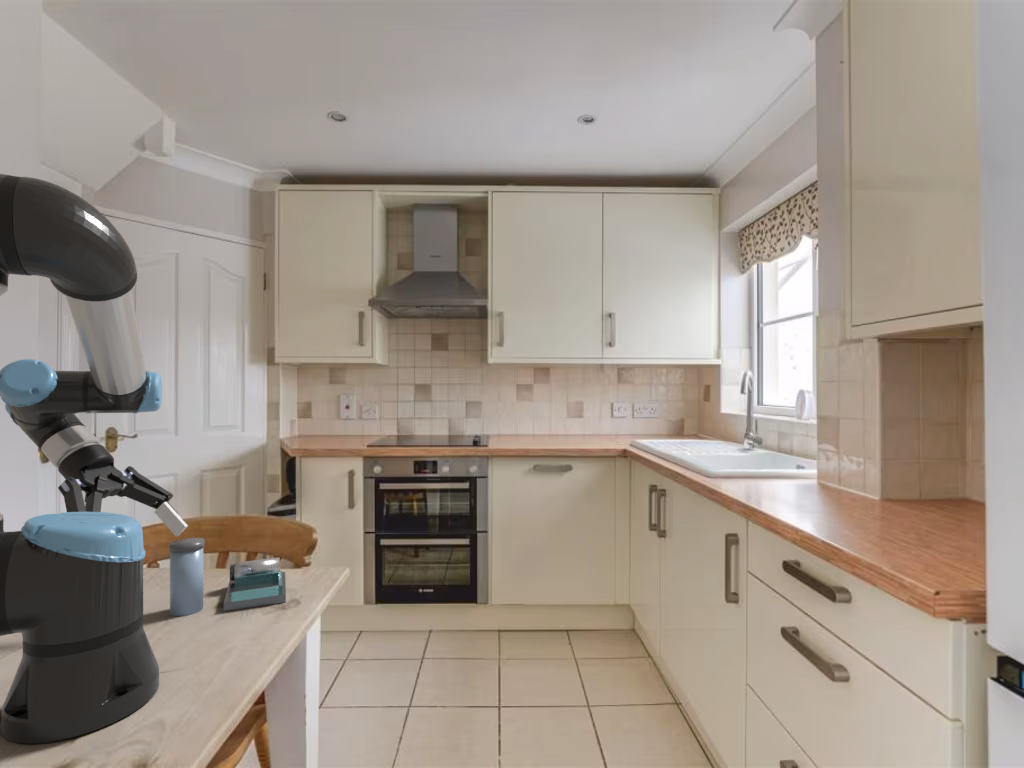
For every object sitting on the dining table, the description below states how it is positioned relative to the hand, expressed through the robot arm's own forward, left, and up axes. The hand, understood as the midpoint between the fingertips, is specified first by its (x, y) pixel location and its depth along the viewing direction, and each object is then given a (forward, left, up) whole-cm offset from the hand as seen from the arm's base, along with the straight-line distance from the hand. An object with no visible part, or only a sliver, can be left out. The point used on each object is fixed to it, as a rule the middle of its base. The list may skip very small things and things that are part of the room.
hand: (155, 541), depth 95 cm
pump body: (-4, -6, -12) cm, 14 cm away
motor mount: (-1, -17, -12) cm, 20 cm away
